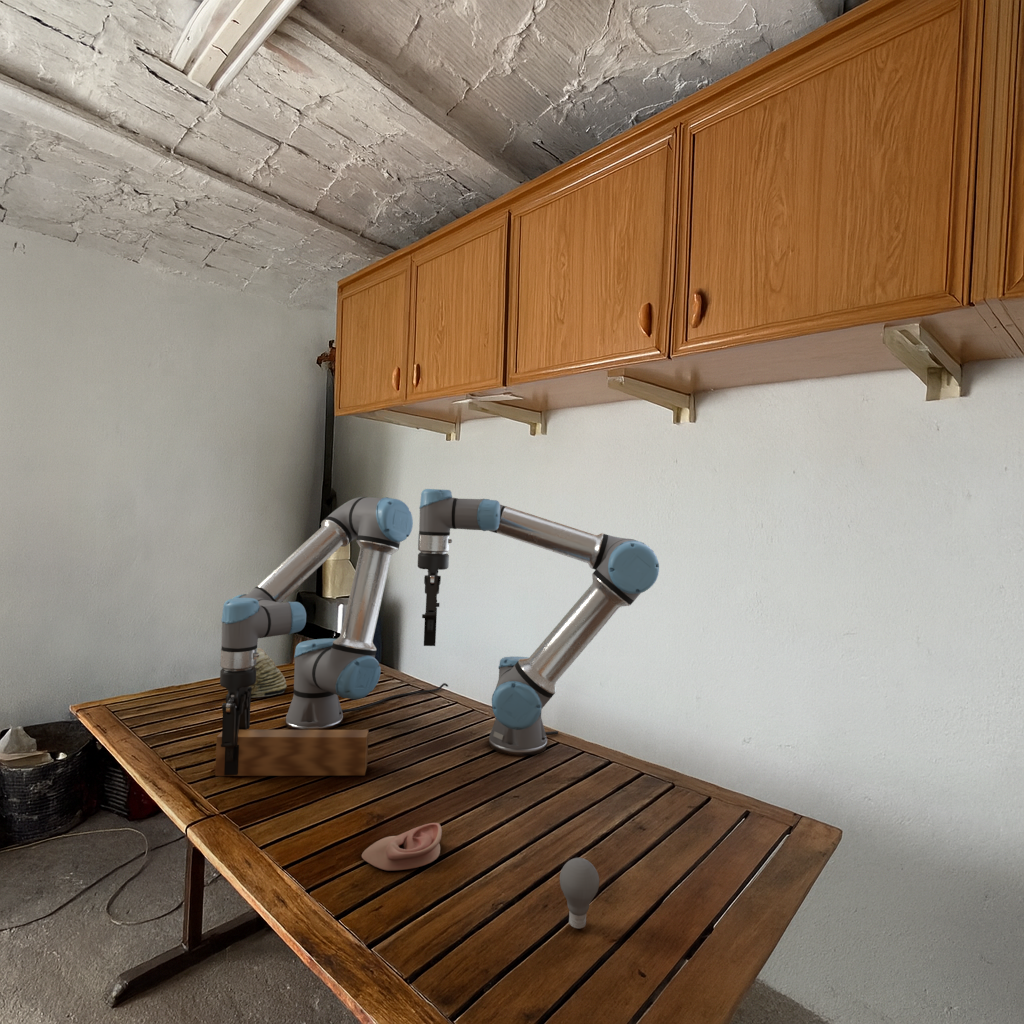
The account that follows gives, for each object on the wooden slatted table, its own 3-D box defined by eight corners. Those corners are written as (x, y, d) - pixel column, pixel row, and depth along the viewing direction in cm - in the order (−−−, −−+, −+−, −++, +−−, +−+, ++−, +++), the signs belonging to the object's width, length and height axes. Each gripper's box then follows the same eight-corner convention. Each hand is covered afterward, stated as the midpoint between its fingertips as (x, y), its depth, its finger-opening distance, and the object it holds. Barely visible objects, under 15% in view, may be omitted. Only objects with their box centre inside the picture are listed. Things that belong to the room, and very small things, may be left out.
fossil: (218, 695, 195) (220, 647, 195) (278, 685, 208) (279, 640, 207) (228, 703, 189) (230, 653, 188) (289, 692, 201) (290, 645, 201)
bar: (215, 776, 141) (216, 736, 141) (222, 767, 146) (223, 729, 146) (364, 775, 145) (366, 737, 145) (367, 766, 149) (368, 729, 149)
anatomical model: (354, 842, 109) (381, 811, 120) (353, 865, 109) (380, 831, 121) (427, 854, 107) (448, 821, 118) (426, 877, 107) (447, 842, 118)
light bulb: (554, 912, 99) (557, 849, 99) (592, 912, 99) (595, 849, 99) (560, 939, 93) (564, 872, 93) (601, 939, 94) (604, 872, 93)
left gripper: (243, 678, 135) (239, 786, 136) (266, 657, 153) (263, 753, 153) (206, 678, 134) (203, 787, 135) (234, 657, 152) (230, 753, 152)
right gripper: (449, 557, 142) (445, 651, 143) (448, 548, 167) (445, 628, 167) (416, 556, 141) (412, 651, 142) (419, 547, 166) (416, 628, 167)
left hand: (235, 768), depth 144 cm, fingers closed on bar, 5 cm apart
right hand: (430, 639), depth 155 cm, fingers open, 13 cm apart
